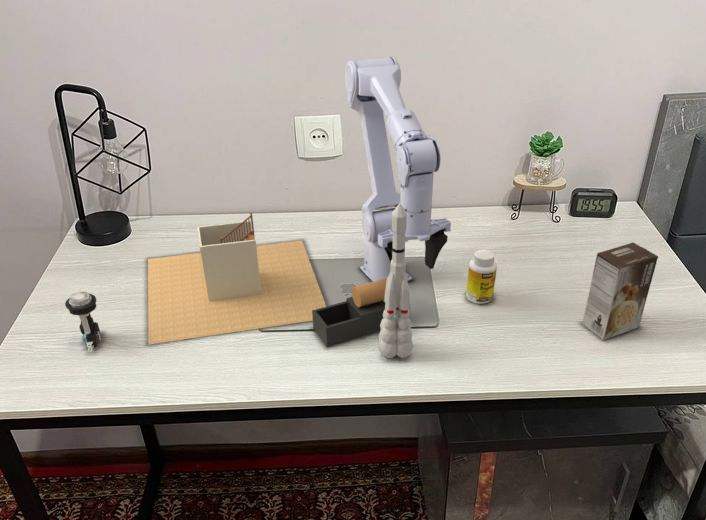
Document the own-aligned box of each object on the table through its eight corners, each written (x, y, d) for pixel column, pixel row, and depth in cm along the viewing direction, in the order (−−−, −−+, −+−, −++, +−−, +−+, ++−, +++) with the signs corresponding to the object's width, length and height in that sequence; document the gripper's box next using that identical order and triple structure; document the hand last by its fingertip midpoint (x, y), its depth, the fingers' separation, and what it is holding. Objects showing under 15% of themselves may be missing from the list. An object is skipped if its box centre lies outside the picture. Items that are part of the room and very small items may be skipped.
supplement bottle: (477, 308, 141) (482, 264, 134) (460, 295, 144) (464, 252, 138) (498, 299, 143) (504, 256, 137) (480, 287, 147) (485, 244, 141)
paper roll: (351, 300, 134) (351, 283, 131) (384, 291, 136) (384, 274, 134) (361, 311, 131) (360, 293, 129) (393, 301, 134) (394, 284, 131)
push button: (105, 351, 129) (92, 307, 123) (75, 355, 128) (60, 310, 122) (108, 331, 134) (96, 287, 128) (79, 334, 134) (65, 290, 128)
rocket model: (397, 370, 125) (401, 218, 107) (367, 352, 129) (366, 204, 111) (423, 351, 129) (432, 203, 111) (393, 335, 133) (397, 189, 115)
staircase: (262, 294, 145) (254, 221, 135) (209, 301, 143) (196, 228, 133) (257, 272, 152) (249, 202, 141) (206, 279, 149) (194, 208, 139)
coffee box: (616, 311, 140) (634, 240, 130) (639, 328, 135) (660, 256, 125) (580, 324, 136) (596, 252, 126) (603, 341, 132) (621, 268, 122)
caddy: (313, 329, 135) (311, 307, 132) (374, 311, 140) (374, 290, 137) (327, 347, 130) (325, 325, 127) (389, 328, 135) (390, 307, 132)
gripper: (390, 223, 120) (389, 290, 129) (461, 206, 126) (456, 271, 134) (372, 207, 125) (372, 272, 134) (441, 191, 131) (437, 255, 139)
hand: (413, 270), depth 134 cm, fingers open, 7 cm apart
